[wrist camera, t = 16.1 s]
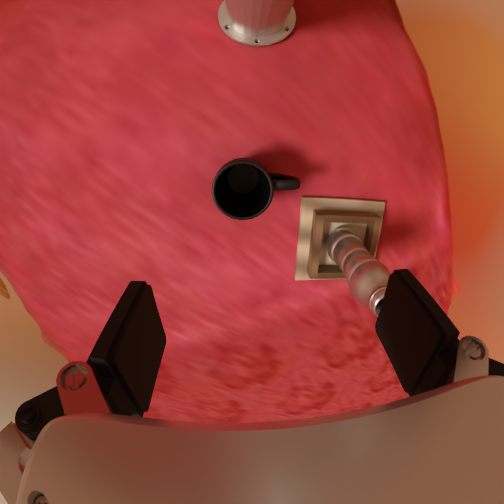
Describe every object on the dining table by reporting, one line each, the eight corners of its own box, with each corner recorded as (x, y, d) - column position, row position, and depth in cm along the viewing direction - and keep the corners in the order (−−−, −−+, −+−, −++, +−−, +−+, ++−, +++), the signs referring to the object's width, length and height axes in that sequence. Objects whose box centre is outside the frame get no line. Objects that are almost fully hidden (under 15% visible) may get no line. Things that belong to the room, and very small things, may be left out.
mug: (291, 199, 46) (302, 216, 37) (220, 204, 46) (215, 222, 37) (289, 151, 42) (301, 157, 33) (216, 156, 42) (208, 163, 34)
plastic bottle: (345, 216, 46) (399, 273, 28) (361, 244, 48) (413, 307, 30) (316, 237, 48) (354, 304, 30) (334, 263, 50) (374, 334, 32)
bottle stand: (301, 196, 45) (306, 202, 42) (383, 200, 46) (393, 207, 42) (294, 277, 52) (297, 288, 49) (368, 275, 53) (376, 285, 49)
